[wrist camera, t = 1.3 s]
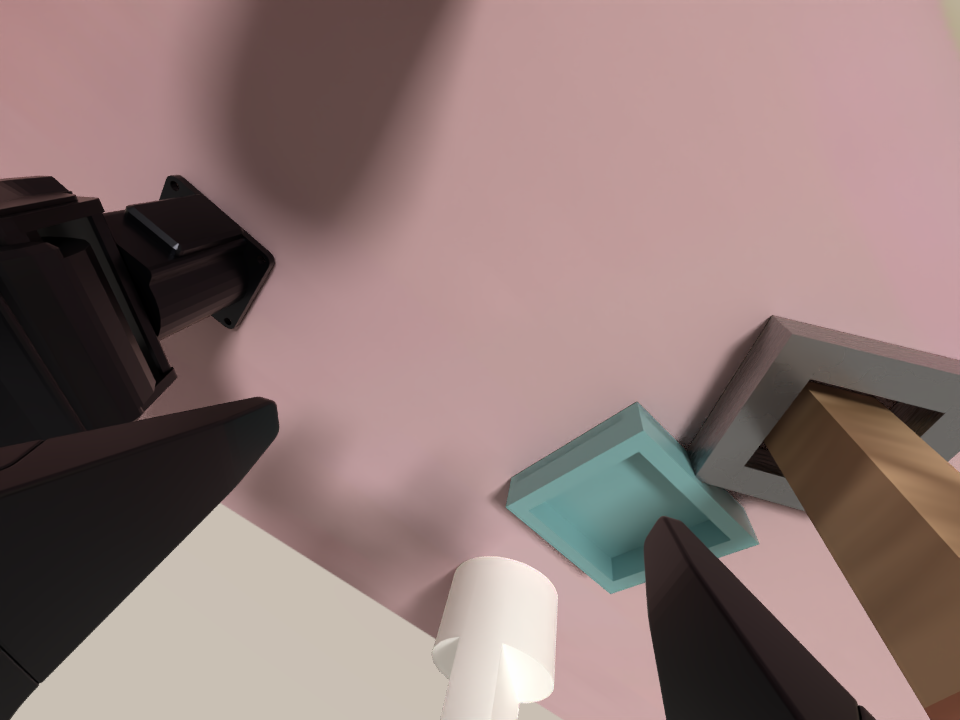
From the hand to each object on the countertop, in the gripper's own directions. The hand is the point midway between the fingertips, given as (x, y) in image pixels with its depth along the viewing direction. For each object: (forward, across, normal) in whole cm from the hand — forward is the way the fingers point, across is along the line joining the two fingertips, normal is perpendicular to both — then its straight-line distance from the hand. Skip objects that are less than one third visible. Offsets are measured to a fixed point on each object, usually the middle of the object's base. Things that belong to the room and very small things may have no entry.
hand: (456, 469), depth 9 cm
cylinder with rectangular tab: (+13, +5, -27) cm, 30 cm away
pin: (+13, +16, -3) cm, 21 cm away
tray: (+13, +9, -12) cm, 20 cm away
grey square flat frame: (+13, +16, -3) cm, 21 cm away
